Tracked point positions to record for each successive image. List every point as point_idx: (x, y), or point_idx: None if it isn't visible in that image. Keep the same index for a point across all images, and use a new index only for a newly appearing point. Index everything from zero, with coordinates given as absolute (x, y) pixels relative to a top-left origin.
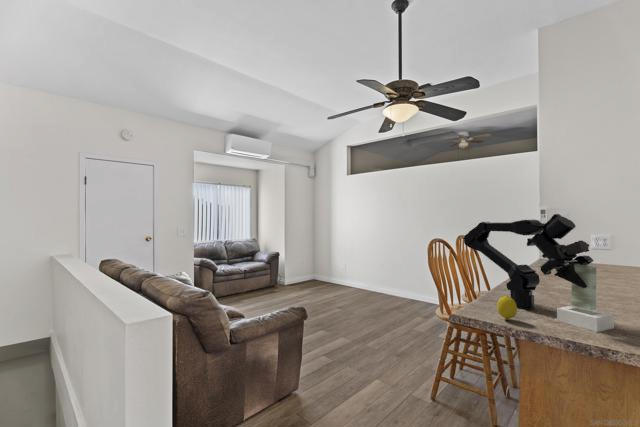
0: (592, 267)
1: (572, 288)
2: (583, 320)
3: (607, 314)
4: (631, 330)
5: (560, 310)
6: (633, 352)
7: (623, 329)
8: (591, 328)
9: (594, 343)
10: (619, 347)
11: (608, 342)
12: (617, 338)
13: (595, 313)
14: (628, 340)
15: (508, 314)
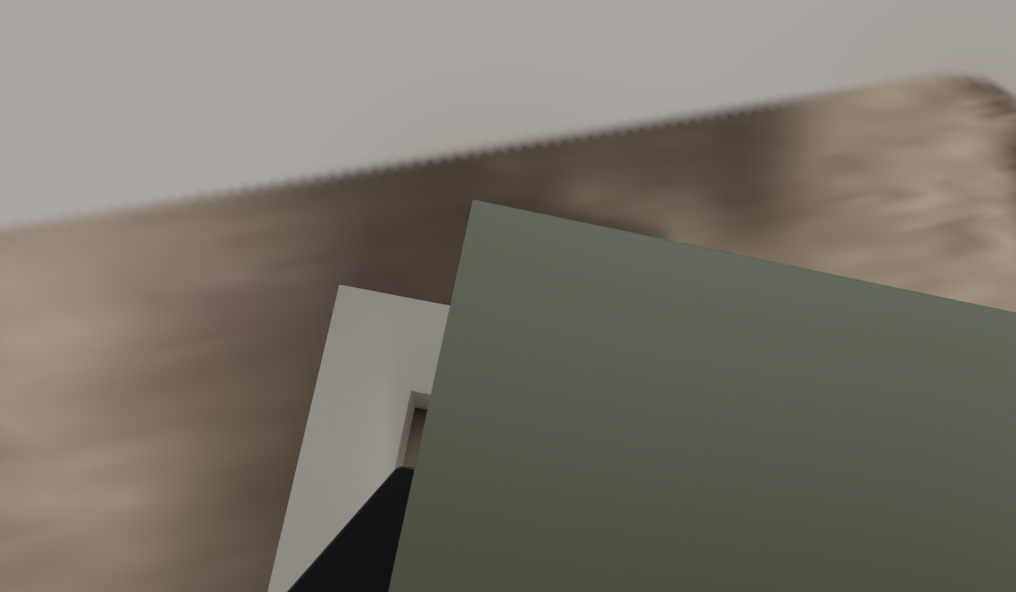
0: (941, 306)
1: None
2: None
3: (399, 332)
4: (296, 201)
5: None
6: (938, 79)
7: (326, 253)
8: None
9: (1010, 299)
10: (920, 160)
11: (876, 239)
12: (692, 221)
13: (395, 463)
14: (666, 155)
15: None
